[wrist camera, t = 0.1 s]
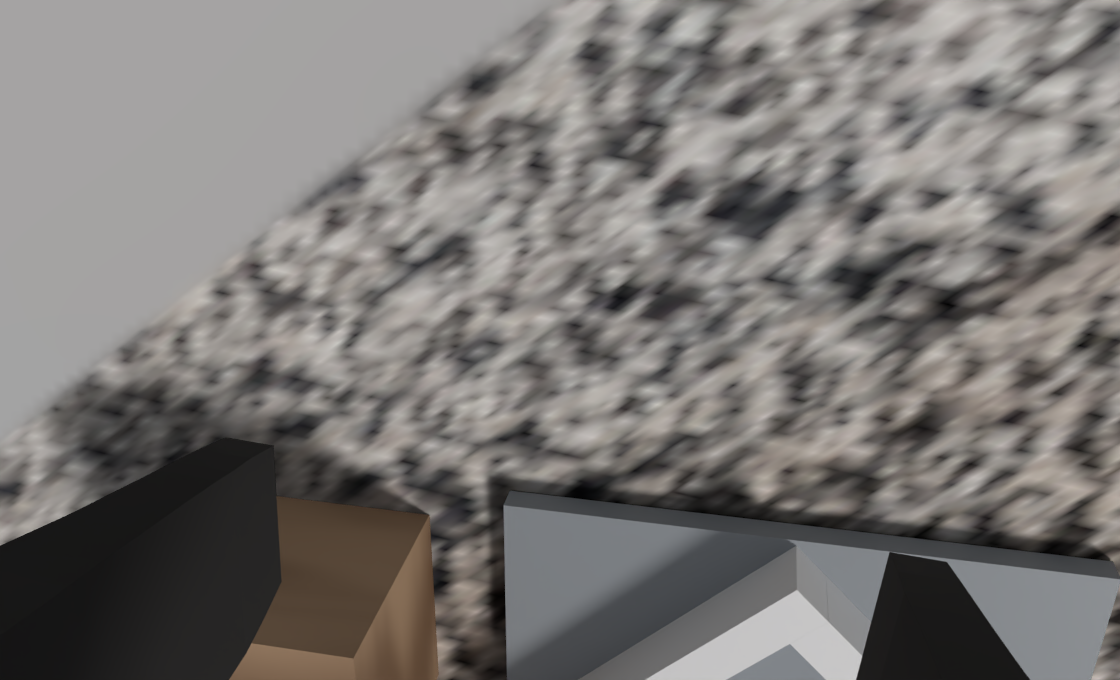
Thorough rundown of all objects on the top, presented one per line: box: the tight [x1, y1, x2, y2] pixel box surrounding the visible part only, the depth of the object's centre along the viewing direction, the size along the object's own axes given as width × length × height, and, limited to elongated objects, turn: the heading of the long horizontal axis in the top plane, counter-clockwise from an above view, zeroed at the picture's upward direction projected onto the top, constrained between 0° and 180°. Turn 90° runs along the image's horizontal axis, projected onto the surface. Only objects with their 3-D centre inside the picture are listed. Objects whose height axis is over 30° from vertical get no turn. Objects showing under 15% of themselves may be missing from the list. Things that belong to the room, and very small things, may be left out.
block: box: [229, 496, 438, 680], centre depth 24 cm, size 5×5×5 cm
